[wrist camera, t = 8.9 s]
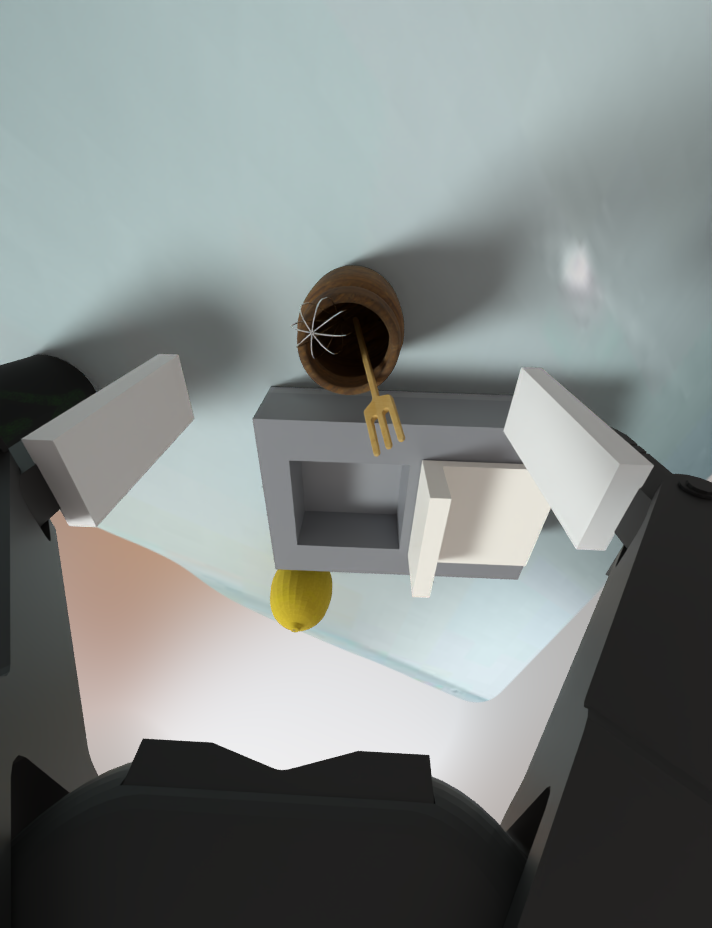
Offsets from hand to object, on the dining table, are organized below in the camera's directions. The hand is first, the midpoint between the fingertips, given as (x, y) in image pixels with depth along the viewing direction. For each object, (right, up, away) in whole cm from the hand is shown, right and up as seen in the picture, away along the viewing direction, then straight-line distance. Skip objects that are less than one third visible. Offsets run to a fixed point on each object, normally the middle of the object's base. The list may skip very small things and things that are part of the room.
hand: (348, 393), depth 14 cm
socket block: (+4, -3, +16) cm, 17 cm away
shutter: (+9, -6, +12) cm, 16 cm away
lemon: (-5, -12, +22) cm, 26 cm away
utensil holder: (0, +7, +9) cm, 12 cm away
